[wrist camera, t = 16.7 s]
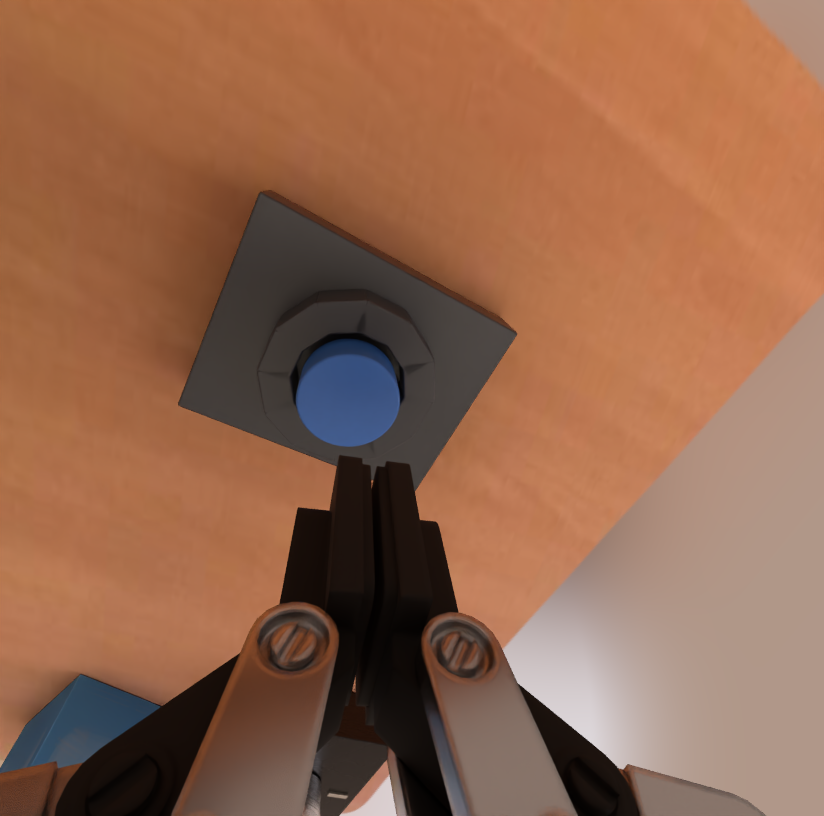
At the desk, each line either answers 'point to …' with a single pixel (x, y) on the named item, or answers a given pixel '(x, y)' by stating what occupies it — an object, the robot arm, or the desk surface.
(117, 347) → the desk surface
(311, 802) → the knob
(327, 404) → the button
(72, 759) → the perfume bottle
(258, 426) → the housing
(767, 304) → the desk surface
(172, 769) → the robot arm
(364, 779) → the panel
